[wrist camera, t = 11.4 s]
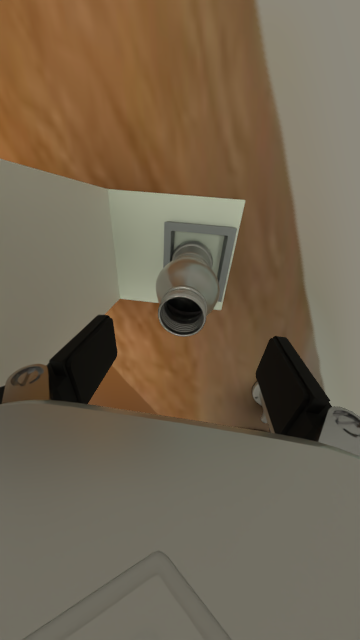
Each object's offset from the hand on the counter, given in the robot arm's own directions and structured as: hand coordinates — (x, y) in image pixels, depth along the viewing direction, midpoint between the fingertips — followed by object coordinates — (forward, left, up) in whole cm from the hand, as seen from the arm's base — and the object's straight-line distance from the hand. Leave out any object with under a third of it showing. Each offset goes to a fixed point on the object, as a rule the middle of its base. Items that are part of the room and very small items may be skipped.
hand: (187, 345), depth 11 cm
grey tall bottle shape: (0, +1, -23) cm, 23 cm away
